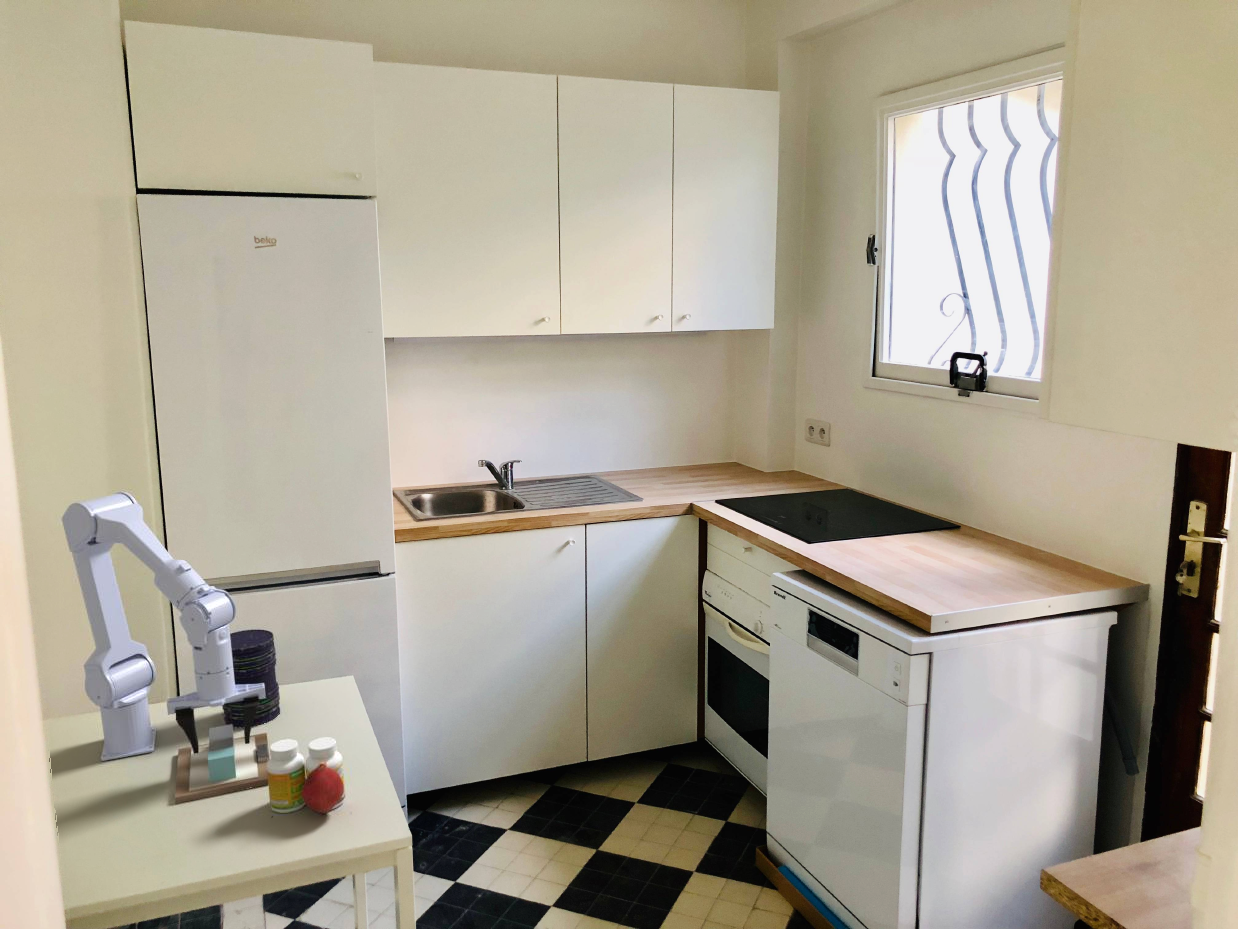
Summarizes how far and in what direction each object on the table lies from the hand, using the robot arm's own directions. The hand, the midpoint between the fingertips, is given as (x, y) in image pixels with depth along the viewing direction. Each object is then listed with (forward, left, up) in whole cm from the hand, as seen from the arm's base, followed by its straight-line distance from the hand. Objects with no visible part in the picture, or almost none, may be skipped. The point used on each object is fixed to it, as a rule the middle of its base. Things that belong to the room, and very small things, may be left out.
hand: (221, 746), depth 154 cm
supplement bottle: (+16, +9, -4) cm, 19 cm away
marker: (0, 0, -3) cm, 3 cm away
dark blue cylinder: (-19, +5, -4) cm, 20 cm away
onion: (+21, +14, -4) cm, 25 cm away
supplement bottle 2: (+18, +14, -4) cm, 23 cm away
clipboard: (0, 0, -4) cm, 4 cm away
